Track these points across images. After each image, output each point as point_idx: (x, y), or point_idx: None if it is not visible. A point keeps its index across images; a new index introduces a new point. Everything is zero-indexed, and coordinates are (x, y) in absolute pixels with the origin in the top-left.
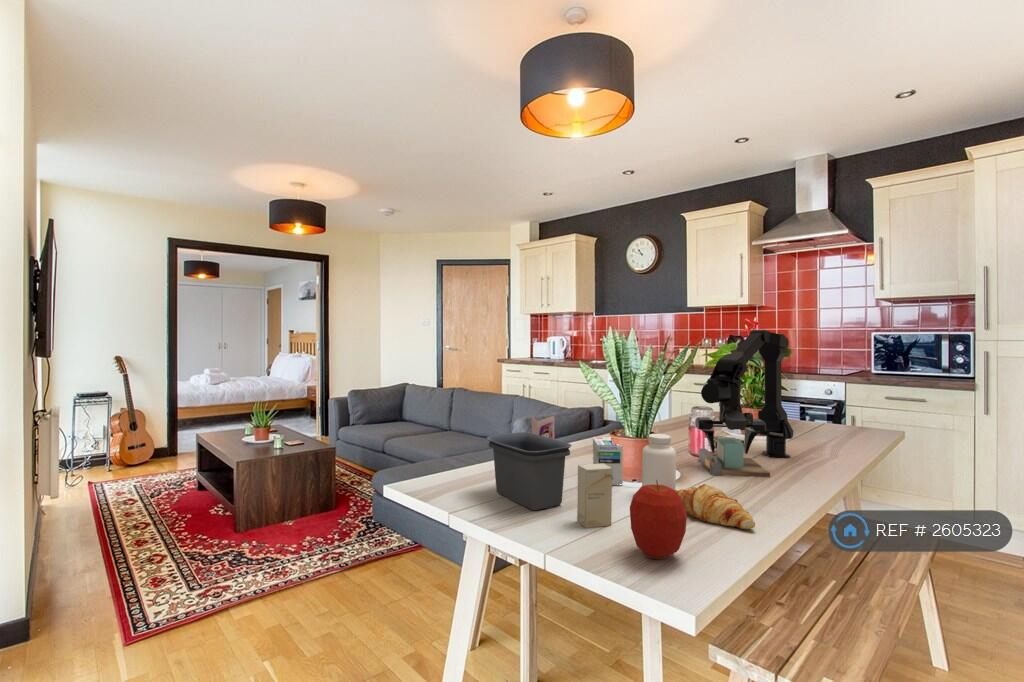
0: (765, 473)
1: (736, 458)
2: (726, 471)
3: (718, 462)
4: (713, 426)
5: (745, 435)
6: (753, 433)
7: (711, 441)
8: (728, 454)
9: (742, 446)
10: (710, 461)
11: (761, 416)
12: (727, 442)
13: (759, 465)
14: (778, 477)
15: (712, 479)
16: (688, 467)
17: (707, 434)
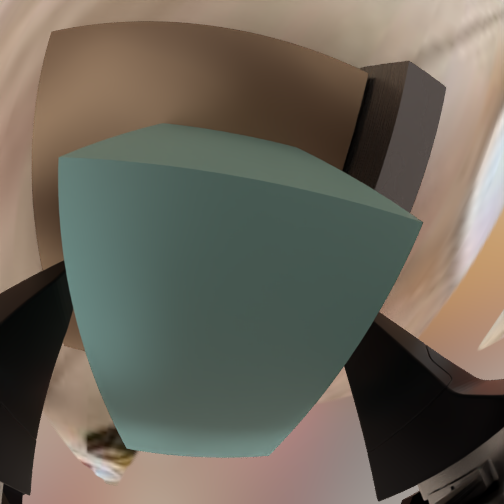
0: (76, 28)
1: (214, 135)
2: (336, 59)
3: (412, 89)
4: (458, 497)
5: (23, 430)
6: None
7: (425, 350)
8: (308, 160)
9: (100, 145)
10: (420, 162)
11: (10, 496)
12: (338, 297)
13: (37, 208)
14: (27, 50)
15: (421, 36)
16: (416, 245)
17: (498, 380)
